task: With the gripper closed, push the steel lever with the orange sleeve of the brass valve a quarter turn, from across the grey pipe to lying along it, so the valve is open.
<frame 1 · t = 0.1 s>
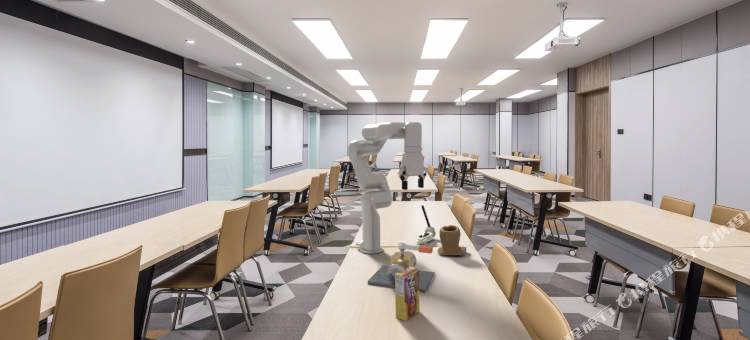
hand: (412, 188, 157), 37 cm above the table, tool pointing down, fingers open, 9 cm apart
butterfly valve: (426, 241, 203), on the table
valve lever: (415, 248, 146), point 14 cm above the table, hinge at 0.0°
candy box: (407, 315, 119), on the table
stone cup: (452, 255, 180), on the table
valve body: (402, 279, 149), on the table
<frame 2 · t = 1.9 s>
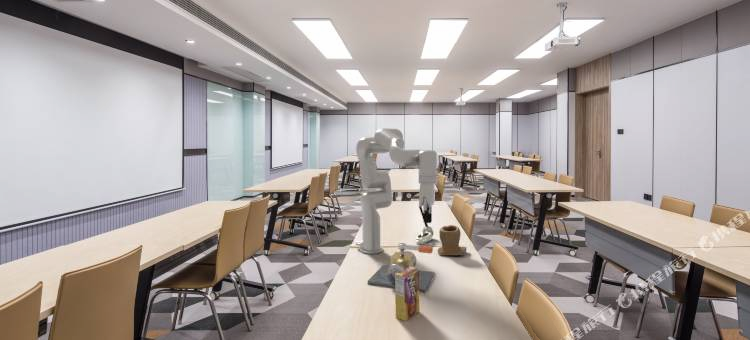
hand: (427, 222, 149), 24 cm above the table, tool pointing down, fingers closed
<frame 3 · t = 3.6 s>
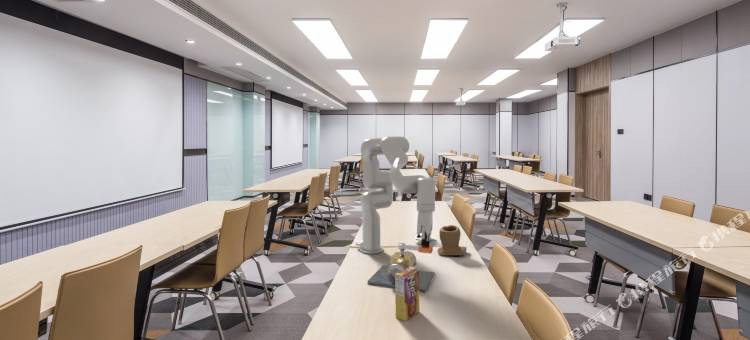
hand: (425, 249, 148), 13 cm above the table, tool pointing down, fingers closed
valve lever: (415, 248, 146), point 14 cm above the table, hinge at -0.4°, touching gripper
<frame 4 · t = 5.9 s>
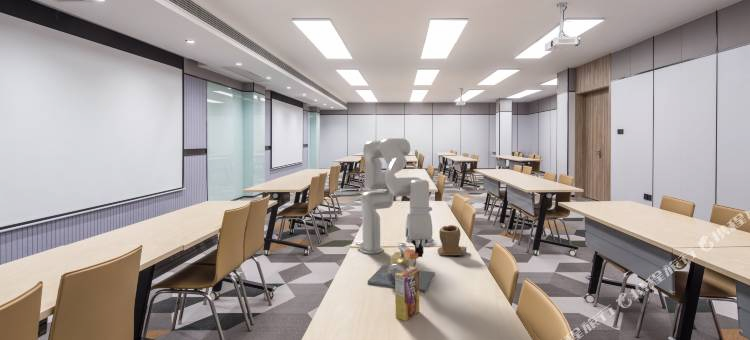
hand: (419, 256, 140), 13 cm above the table, tool pointing down, fingers closed
valve lever: (407, 250, 142), point 14 cm above the table, hinge at -52.9°, touching gripper
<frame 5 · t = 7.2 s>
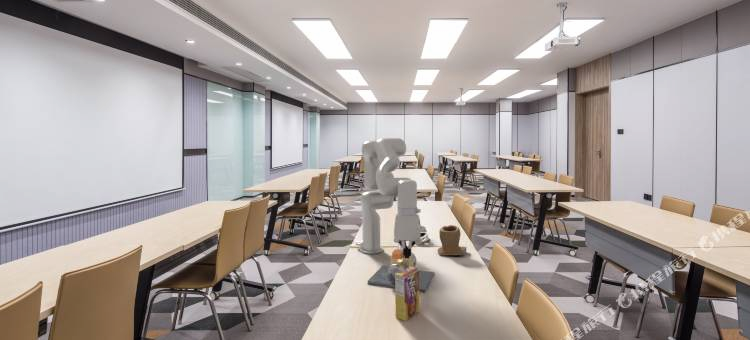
hand: (407, 257, 138), 13 cm above the table, tool pointing down, fingers closed
valve lever: (399, 250, 142), point 14 cm above the table, hinge at -84.4°, touching gripper
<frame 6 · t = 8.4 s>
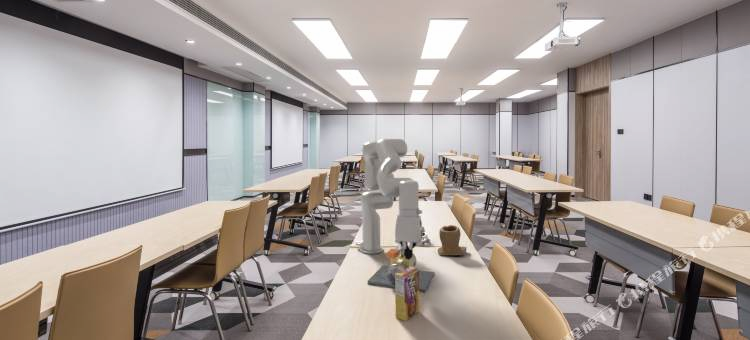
hand: (408, 258, 137), 13 cm above the table, tool pointing down, fingers closed
valve lever: (397, 250, 143), point 14 cm above the table, hinge at -95.3°
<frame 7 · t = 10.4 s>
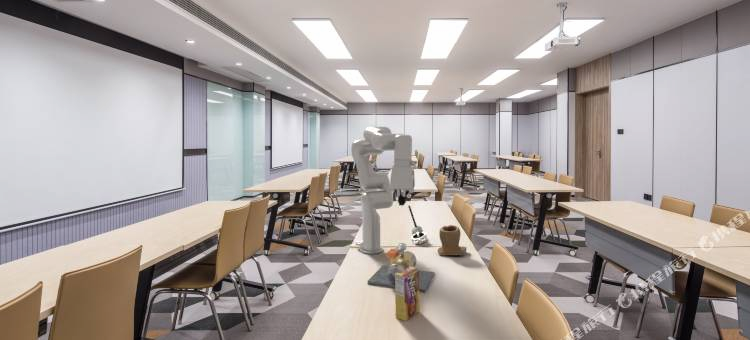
hand: (401, 204, 154), 31 cm above the table, tool pointing down, fingers closed
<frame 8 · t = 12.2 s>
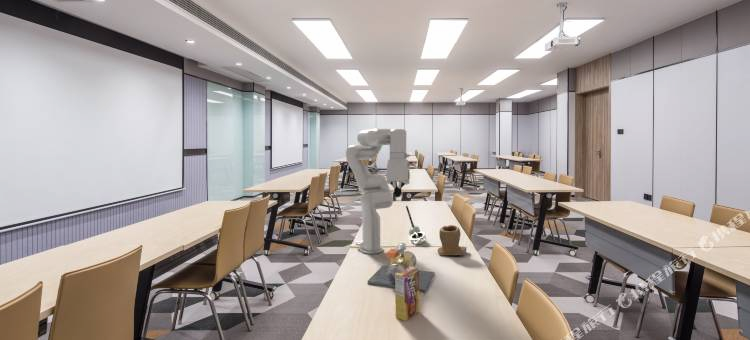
hand: (397, 196, 160), 33 cm above the table, tool pointing down, fingers closed
at the end: valve lever at -95° (first picture: +0°) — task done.
